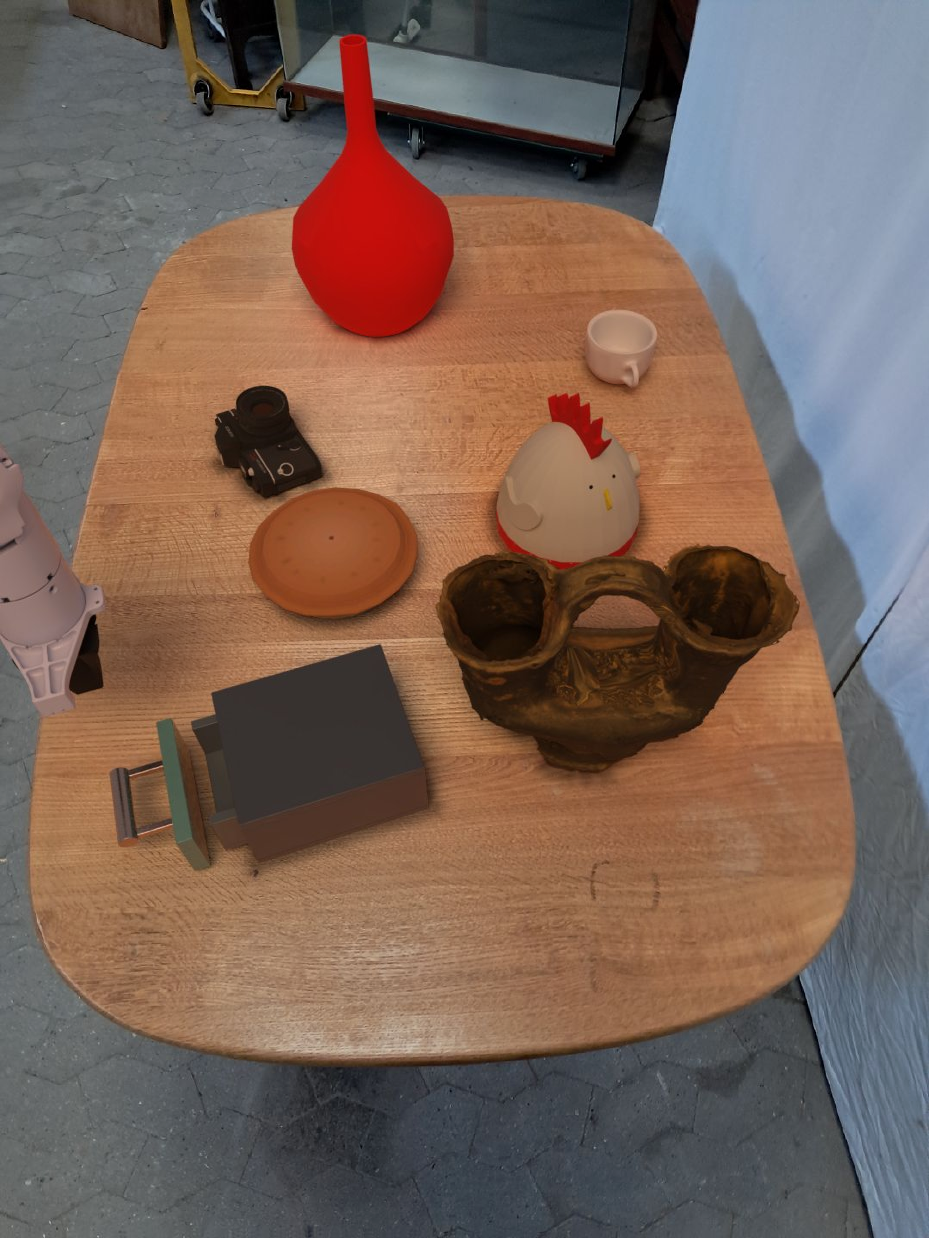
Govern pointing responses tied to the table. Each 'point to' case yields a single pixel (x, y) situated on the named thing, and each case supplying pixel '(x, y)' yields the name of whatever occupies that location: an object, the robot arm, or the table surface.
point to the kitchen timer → (570, 490)
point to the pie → (333, 552)
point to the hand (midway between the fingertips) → (89, 684)
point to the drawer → (181, 794)
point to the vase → (371, 225)
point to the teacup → (620, 346)
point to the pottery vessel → (608, 645)
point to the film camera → (265, 442)
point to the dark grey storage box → (319, 753)
